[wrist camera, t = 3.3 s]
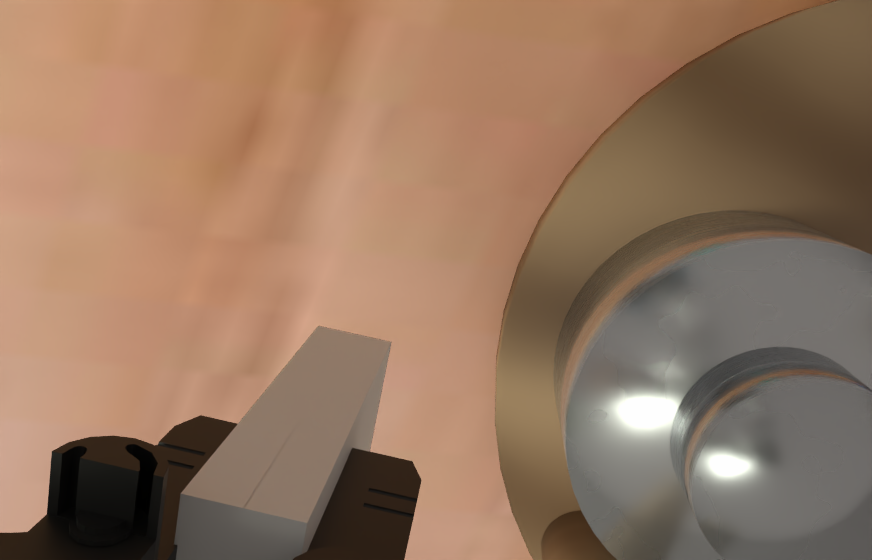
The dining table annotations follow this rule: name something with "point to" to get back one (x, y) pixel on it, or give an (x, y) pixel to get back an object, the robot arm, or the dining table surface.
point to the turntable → (682, 213)
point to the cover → (722, 393)
